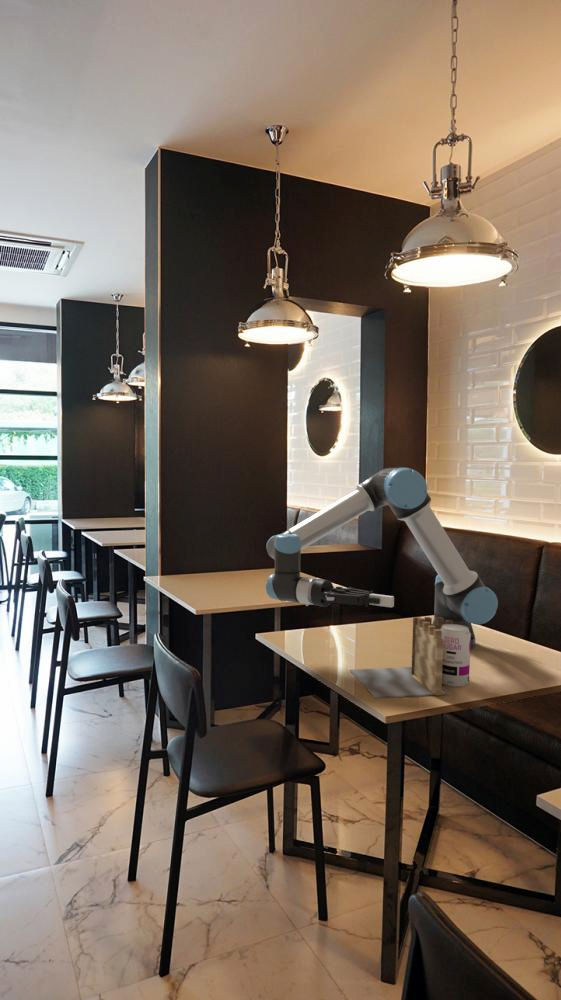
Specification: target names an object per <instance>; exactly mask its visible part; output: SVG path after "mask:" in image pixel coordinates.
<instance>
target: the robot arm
mask: <svg viewBox="0 0 561 1000" xmlns="http://www.w3.org/2000/svg"><path fill="white" fill-rule="evenodd" d="M431 502H432V498H431V496H430V495H429V493H428V484H427V482H426V479H425V478H424V476H423V475H422V474H421V473H420V472H418V471H417V470H415V469H412V468H409V467H387V468H386V467H385V468H384V469H381V470H379V471H378V472H376V473H374V474H373V475H371V476H370V477H368V478H366V479H365V480H364V481H362V482H361V483H359V484H357V485H356V488H355V490H353V491H351V492H349V493H348V494H347V495H344V496H342V497H341V498H339V499H338V500H337V501H334V502H333V503H331V504H330V505H328V506H326V507H324V508H323V509H321V510H319V511H317V512H316V513H314V514H312V515H311V516H309V517H307V518H305V519H304V520H303V521H301V522H299V523H297V524H295V525H294V526H292V527H291V528H289V529H287V530H286V531H283V532H282V533H280V534H276V535H272V536H271V537H270V538H269V539H268V540H267V542H266V551H267V554H268V556H269V557H270V558H271V559H273V560H274V573H272V574H270V575H269V576H268V577H267V580H266V582H267V583H266V584H265V591H266V595H268V597H269V598H271V599H273V600H278V601H281V602H288V603H289V602H290V603H298V604H304V605H305V606H306V607H308V606H309V605H314V606H318V607H324V608H325V607H328V606H329V605H331V604H339V605H352V606H353V605H355V606H360V607H361V606H363V605H364V608H369V605H371V606H378V607H385V608H394V607H395V597H394V595H385V594H378V593H374V591H373V590H369V591H368V590H363V589H357V588H353V587H352V586H347V587H343V586H335V587H334V585H333V582H331V580H329V579H322V578H316V577H306V576H301V551H302V550H303V549H306V548H308V547H309V546H310V545H312V544H314V543H316V542H317V541H319V540H321V539H322V538H325V536H328V535H330V534H331V533H333V532H334V531H335V530H338V529H339V528H341V527H343V526H344V525H346V524H347V523H349V522H351V521H353V520H355V519H356V518H358V517H360V516H361V515H363V514H364V513H366V512H368V511H370V512H374V511H376V510H378V509H380V508H382V507H385V506H388V507H390V509H391V510H390V511H392V512H393V515H394V516H395V517H396V519H397V520H399V521H402V522H403V521H404V522H405V524H406V526H407V527H408V529H409V530H410V532H411V533H412V535H413V536H414V538H415V540H416V541H417V543H418V544H419V546H420V548H421V549H422V551H423V552H424V555H425V556H426V557H427V559H428V561H429V562H430V564H431V565H432V568H434V570H435V572H436V573H437V575H436V577H435V582H434V605H433V606H434V608H433V609H434V611H433V612H434V613H433V619H432V620H433V621H432V624H436V617H442V618H444V620H443V624H445V623H446V620H452V621H453V624H457V625H463V626H466V627H468V628H469V631H470V633H471V642H470V649H473V648H474V647H476V641H477V639H476V636H475V632H474V629H473V625H483V624H486V623H488V622H490V620H491V619H493V618H494V616H495V615H496V614H497V609H498V606H499V599H498V597H497V594H495V592H494V591H493V590H492V589H491V588H489V587H487V586H485V584H484V583H483V581H482V579H481V577H480V575H479V574H478V572H477V571H474V570H470V569H469V568H468V566H467V564H466V563H465V561H464V559H463V558H462V556H461V554H460V553H459V552H458V550H457V548H456V546H455V545H454V543H453V541H451V538H450V537H449V536H448V534H447V532H446V530H445V528H444V527H443V525H442V524H441V523H440V521H439V519H438V518H437V516H436V514H435V513H434V511H433V509H432V508H431Z"/></svg>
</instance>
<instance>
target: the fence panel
mask: <svg viewBox="0 0 561 1000" xmlns="http://www.w3.org/2000/svg"><path fill="white" fill-rule="evenodd" d="M441 635H442V631H441V630H440V629H436V627H435V626H430V623H429V622H425V618H424V617H422V618H421V617H418V621H417V625H416V632H415V663H414V675H415V676H416V677H417V678H418V679H419V680H420V681H421V682H422V683H423V684H424V685H425V686H426V687H427V688H428V689H429V690H430V691H431V692H433V693H434V694H435V695H434V696H442V695H441V692H442V687H443V684H442V663H443V639H441Z"/></svg>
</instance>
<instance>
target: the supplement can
mask: <svg viewBox="0 0 561 1000" xmlns="http://www.w3.org/2000/svg"><path fill="white" fill-rule="evenodd" d="M440 630H441V631H442V635H441V639H443V663H442V685H445V686H449V687H456V688H457V687H465V686H466V685H467V684H468V683H470V669H471V668H470V666H471V665H470V664H471V662H470V661H471V648H470V642H471V633H470V631H469V628H468V627H466V626H463V625H457V624H446V625H442V628H441V629H440Z"/></svg>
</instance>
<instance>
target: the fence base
mask: <svg viewBox="0 0 561 1000" xmlns="http://www.w3.org/2000/svg"><path fill="white" fill-rule="evenodd" d="M418 618H419V617H413V618H412V644H411V645H412V647H411V648H412V650H411V666H405V667H404V666H403V667H382V668H381V667H380V668H378V667H377V668H358V669H357V668H355V669H353V668H352V669H349V673H351V674H352V675H353V677H355V678H356V680H357V681H359V683H361V685H362V686H363V687H364V688H365V689H366V690H367V691H368V692H369V693H370V694H371V695H372V696H373V698H375V699H387V698H388V699H390V698H391V699H392V698H409V697H428V696H429V697H430V696H431V697H433V696H436V695H435V694H434V693H433V692H431V691H430V690H429V689H428V688H427V687H426V686H425V685H424V684H423V683H422V682H421V681H420V680H419V679H418V678H417V677H416V676H415V675H414V663H415V632H416V625H417V621H418ZM424 619H425V622H429V623H430V626H435V627H436V629H441V628H442V625H446V624H453V621H452V620H446V623H445V624H443V620H444V618H442V617H436V624H432V623H433V621H432V620H433V619H432V618H431V617H430V616H427V617H424ZM451 694H452V693H451V691H449V690H448V689H446V688H445V687H444V686H442V692H441V695H440V696H449V695H451Z"/></svg>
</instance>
